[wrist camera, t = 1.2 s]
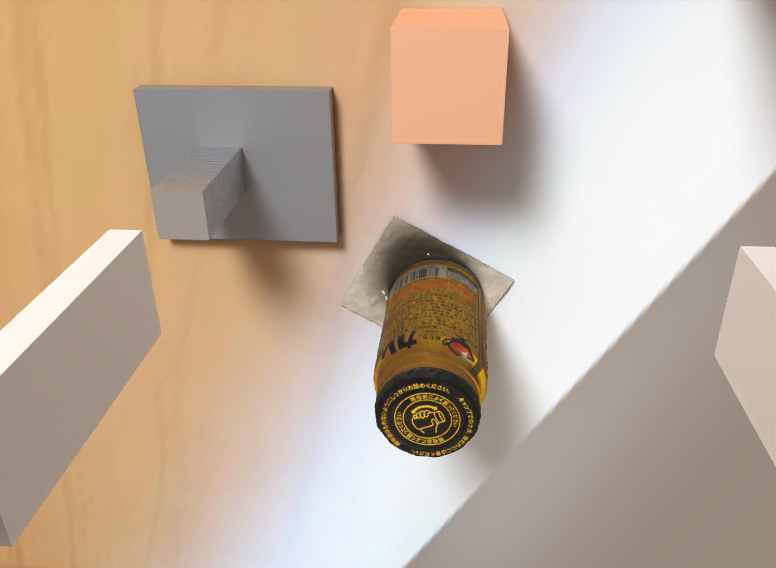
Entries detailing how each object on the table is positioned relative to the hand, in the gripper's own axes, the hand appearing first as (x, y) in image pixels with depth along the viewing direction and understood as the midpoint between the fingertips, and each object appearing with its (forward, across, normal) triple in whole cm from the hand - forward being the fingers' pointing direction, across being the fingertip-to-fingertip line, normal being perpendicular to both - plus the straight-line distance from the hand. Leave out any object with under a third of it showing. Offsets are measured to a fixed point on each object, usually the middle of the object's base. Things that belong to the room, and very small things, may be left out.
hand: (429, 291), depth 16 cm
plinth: (+26, -12, -6) cm, 29 cm away
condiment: (+26, -1, -14) cm, 29 cm away
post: (+26, -13, -6) cm, 29 cm away
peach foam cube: (+26, 0, 0) cm, 26 cm away
